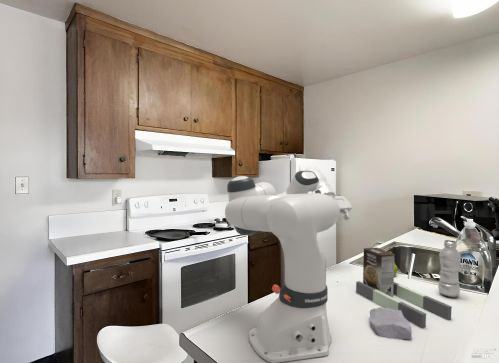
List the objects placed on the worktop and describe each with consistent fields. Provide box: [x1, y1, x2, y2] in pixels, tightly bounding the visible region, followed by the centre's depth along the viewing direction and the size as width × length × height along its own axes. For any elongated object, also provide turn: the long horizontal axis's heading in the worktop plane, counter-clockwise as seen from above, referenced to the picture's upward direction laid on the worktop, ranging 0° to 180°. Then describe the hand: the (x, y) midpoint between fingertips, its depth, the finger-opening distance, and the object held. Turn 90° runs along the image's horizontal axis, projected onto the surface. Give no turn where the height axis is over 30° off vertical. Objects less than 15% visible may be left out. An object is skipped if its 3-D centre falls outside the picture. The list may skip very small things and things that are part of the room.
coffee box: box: [362, 247, 396, 298], centre depth 104 cm, size 9×6×16 cm
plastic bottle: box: [437, 239, 462, 298], centre depth 103 cm, size 6×7×20 cm
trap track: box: [355, 280, 453, 329], centre depth 96 cm, size 13×26×4 cm, turn 23°
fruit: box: [388, 247, 398, 276], centre depth 123 cm, size 6×6×12 cm
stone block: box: [369, 307, 413, 341], centre depth 82 cm, size 12×5×10 cm
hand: (339, 220), depth 122 cm, fingers open, 8 cm apart
